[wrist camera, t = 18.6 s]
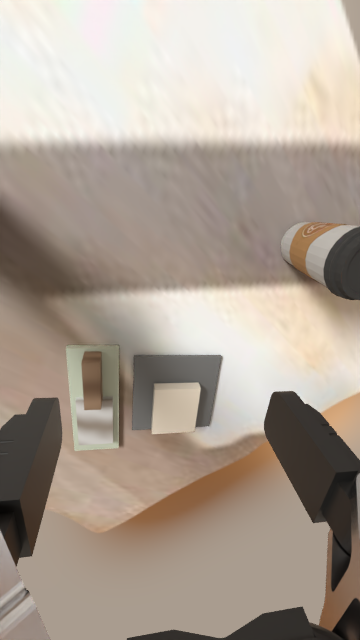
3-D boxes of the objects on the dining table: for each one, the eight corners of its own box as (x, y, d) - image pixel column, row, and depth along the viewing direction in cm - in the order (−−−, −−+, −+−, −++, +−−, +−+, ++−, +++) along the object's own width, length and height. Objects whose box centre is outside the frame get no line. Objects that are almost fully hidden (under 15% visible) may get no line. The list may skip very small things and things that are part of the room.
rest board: (75, 446, 54) (74, 450, 53) (67, 345, 45) (65, 348, 44) (118, 443, 55) (118, 448, 54) (119, 345, 46) (118, 348, 45)
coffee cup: (319, 205, 42) (408, 213, 28) (327, 256, 46) (410, 285, 32) (267, 228, 42) (331, 248, 29) (279, 278, 46) (341, 316, 32)
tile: (153, 382, 50) (151, 425, 54) (154, 390, 48) (151, 434, 52) (198, 381, 51) (192, 423, 55) (200, 388, 49) (194, 431, 54)
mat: (132, 427, 54) (132, 430, 54) (134, 355, 48) (134, 357, 47) (208, 423, 57) (209, 426, 56) (220, 355, 50) (221, 356, 50)
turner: (73, 351, 44) (69, 362, 42) (112, 351, 45) (111, 362, 43) (79, 440, 52) (76, 455, 49) (113, 438, 53) (112, 453, 50)
